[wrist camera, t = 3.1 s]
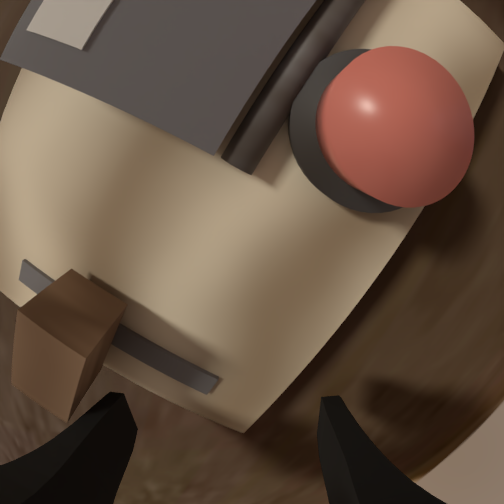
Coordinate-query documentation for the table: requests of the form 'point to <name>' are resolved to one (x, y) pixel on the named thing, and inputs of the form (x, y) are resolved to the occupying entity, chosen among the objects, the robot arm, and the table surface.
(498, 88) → the table surface
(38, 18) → the paddle switch
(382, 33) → the control panel
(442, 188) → the push button
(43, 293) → the slider knob
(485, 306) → the table surface
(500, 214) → the table surface
